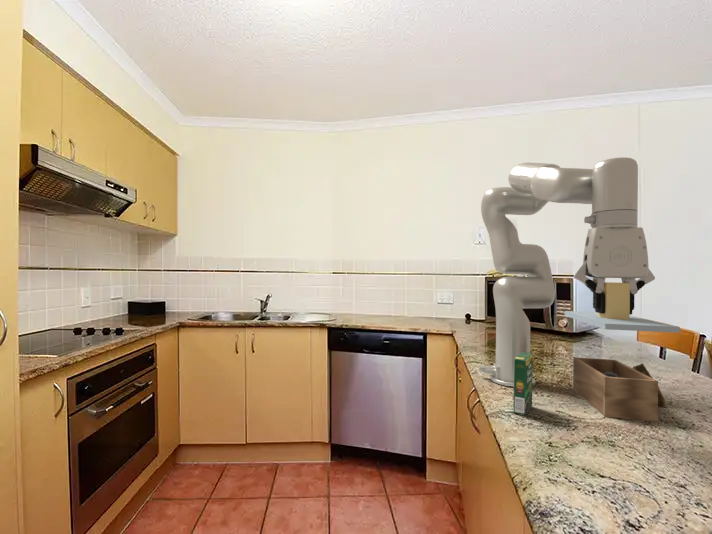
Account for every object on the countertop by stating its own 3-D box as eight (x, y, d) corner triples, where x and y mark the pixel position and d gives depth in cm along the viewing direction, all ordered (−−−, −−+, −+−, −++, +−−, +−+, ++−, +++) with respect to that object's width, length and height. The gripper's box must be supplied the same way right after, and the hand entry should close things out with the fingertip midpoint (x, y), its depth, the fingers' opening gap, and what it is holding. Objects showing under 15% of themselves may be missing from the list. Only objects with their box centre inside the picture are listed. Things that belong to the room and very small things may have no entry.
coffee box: (525, 417, 84) (526, 359, 84) (512, 414, 86) (513, 357, 86) (533, 406, 91) (533, 353, 91) (520, 404, 92) (521, 351, 93)
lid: (605, 329, 65) (605, 283, 65) (564, 315, 85) (564, 280, 86) (679, 332, 62) (680, 285, 62) (619, 317, 83) (619, 281, 83)
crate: (604, 416, 85) (605, 377, 85) (572, 388, 105) (573, 357, 105) (657, 421, 83) (658, 381, 83) (614, 392, 103) (615, 359, 103)
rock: (618, 381, 106) (614, 384, 98) (641, 360, 103) (639, 361, 96) (656, 412, 100) (655, 418, 92) (682, 390, 97) (683, 395, 89)
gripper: (574, 220, 72) (573, 313, 72) (674, 218, 69) (673, 317, 68) (562, 224, 80) (561, 309, 79) (651, 223, 76) (650, 312, 76)
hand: (613, 312), depth 74 cm, fingers closed on lid, 4 cm apart
